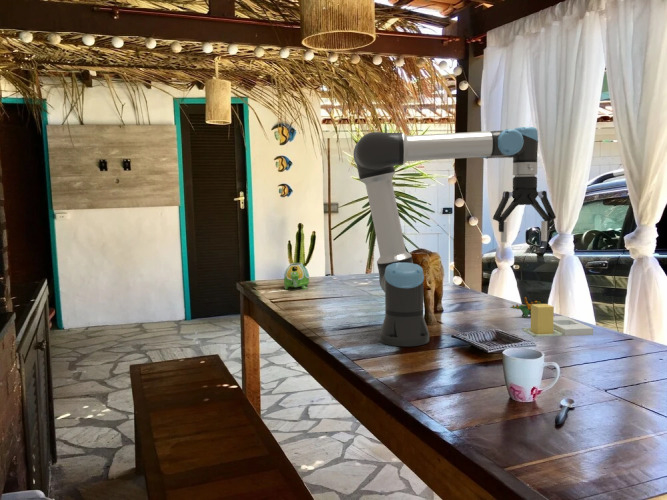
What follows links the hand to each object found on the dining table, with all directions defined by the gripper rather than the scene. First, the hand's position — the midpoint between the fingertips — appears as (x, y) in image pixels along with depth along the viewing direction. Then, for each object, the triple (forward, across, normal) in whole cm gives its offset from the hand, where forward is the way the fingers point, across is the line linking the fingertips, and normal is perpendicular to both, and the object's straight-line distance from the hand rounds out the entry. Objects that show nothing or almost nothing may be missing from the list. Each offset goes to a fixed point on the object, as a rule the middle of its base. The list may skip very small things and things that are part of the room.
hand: (523, 241), depth 189 cm
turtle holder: (+29, -72, +94) cm, 122 cm away
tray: (+29, +2, -11) cm, 31 cm away
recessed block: (+29, +11, -7) cm, 32 cm away
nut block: (+28, +2, -11) cm, 30 cm away
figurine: (+29, +6, +11) cm, 31 cm away
